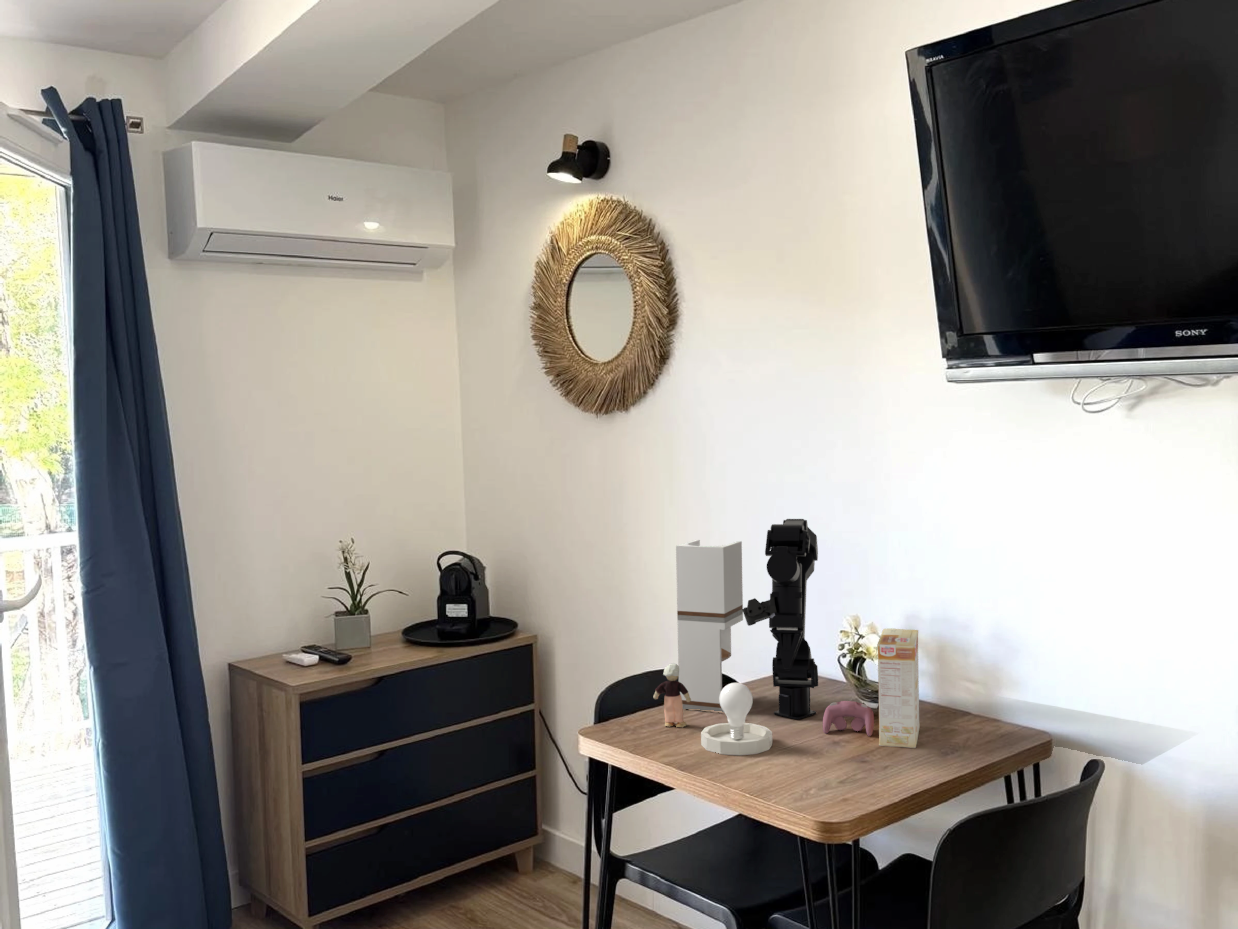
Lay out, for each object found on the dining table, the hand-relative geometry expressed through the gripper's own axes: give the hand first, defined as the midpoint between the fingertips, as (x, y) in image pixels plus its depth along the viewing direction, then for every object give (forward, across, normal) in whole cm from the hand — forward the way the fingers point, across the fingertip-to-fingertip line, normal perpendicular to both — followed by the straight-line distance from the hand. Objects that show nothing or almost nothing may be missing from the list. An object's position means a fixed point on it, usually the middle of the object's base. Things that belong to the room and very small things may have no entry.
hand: (786, 669), depth 216 cm
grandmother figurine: (+12, -11, -23) cm, 28 cm away
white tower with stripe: (+7, -27, -16) cm, 33 cm away
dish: (+14, 0, -9) cm, 17 cm away
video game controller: (+12, -10, +12) cm, 19 cm away
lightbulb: (+14, 0, -9) cm, 17 cm away
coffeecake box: (+12, -8, +21) cm, 26 cm away
